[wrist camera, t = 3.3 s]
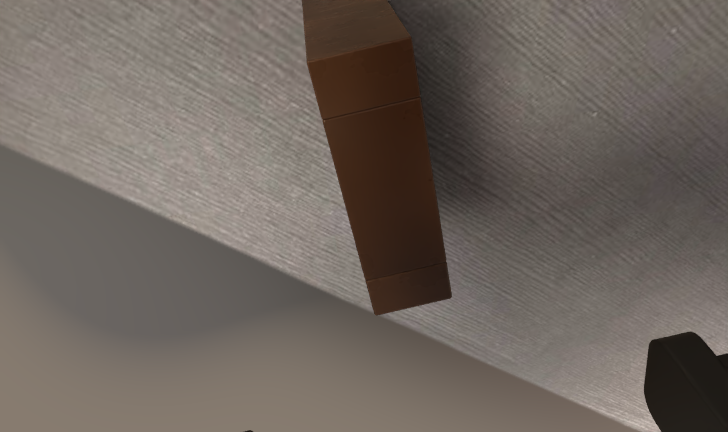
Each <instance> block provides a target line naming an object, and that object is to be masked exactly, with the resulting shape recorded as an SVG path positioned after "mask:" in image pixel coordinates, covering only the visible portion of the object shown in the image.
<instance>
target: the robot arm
mask: <svg viewBox="0 0 728 432" xmlns="http://www.w3.org/2000/svg"><path fill="white" fill-rule="evenodd" d="M644 394H645V399H646V403H647V406H648V409H649V411H650V413H651V415H652V417H653V419H654V421H655V422H656V424H657V425H658V427H659V429H660V430H661V432H728V354H723V355H719V356H716V355H715V354H714V352H713V351H712V350H711V349H710V348H709V347H708V345H707V344H706V343H705V342H704V341H703V340H702V338H701V337H700V336H698V335H697V334H696V333H694V332H686V333H681V334H677V335H672V336H668V337H664V338H659V339H655V340H652V341H651V342H650V344H649V349H648V358H647V366H646V375H645V383H644ZM245 432H253V431H251V430H249V431H245Z"/></svg>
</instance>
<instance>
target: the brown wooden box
mask: <svg viewBox="0 0 728 432" xmlns="http://www.w3.org/2000/svg"><path fill="white" fill-rule="evenodd" d="M302 7H303V19H304V32H305V45H306V58H307V65H308V69H309V73H310V76H311V80H312V84H313V88H314V91H315V95H316V99H317V102H318V106H319V110H320V114H321V117H322V120H323V125H324V128H325V132H326V136H327V139H328V143H329V147H330V151H331V154H332V158H333V162H334V165H335V169H336V173H337V177H338V180H339V184H340V188H341V192H342V195H343V199H344V203H345V206H346V210H347V214H348V218H349V221H350V225H351V229H352V232H353V236H354V240H355V244H356V247H357V251H358V255H359V258H360V262H361V266H362V270H363V273H364V277H365V280H366V284H367V288H368V292H369V295H370V299H371V303H372V307H373V310H374V314H375V315H381V314H385V313H389V312H394V311H398V310H402V309H407V308H411V307H415V306H420V305H424V304H428V303H433V302H437V301H441V300H446V299H450V298H451V297H452V293H451V287H450V280H449V274H448V268H447V262H446V254H445V248H444V242H443V235H442V229H441V222H440V216H439V210H438V203H437V197H436V191H435V184H434V178H433V171H432V165H431V159H430V152H429V146H428V140H427V133H426V127H425V120H424V114H423V108H422V101H421V97H420V95H421V94H420V88H419V82H418V75H417V69H416V63H415V56H414V50H413V43H412V38H411V36H410V35H409V33H408V32H407V30H406V29H405V27H404V25H403V24H402V22H401V21H400V19H399V18H398V16H397V15H396V13H395V12H394V10H393V9H392V7H391V6H390V4H389V3H388V1H387V0H302Z"/></svg>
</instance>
